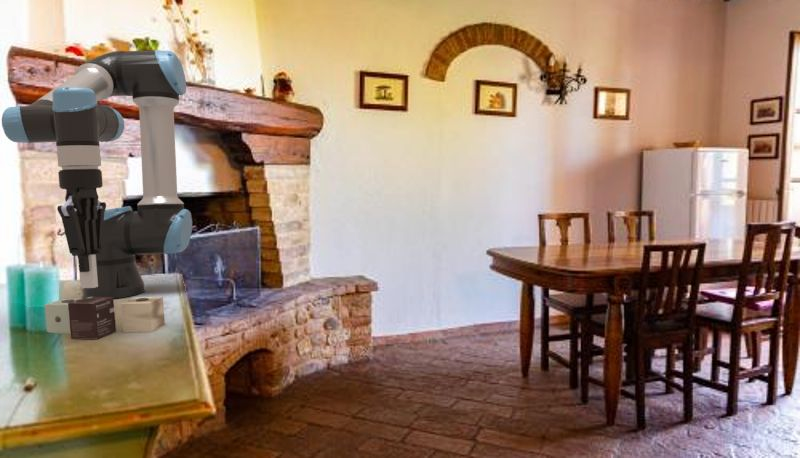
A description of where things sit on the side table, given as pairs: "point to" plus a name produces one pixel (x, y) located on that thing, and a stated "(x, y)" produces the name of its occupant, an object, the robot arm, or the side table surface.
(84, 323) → the box
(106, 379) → the side table surface
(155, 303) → the beech block marked
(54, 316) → the sage block partly covered
